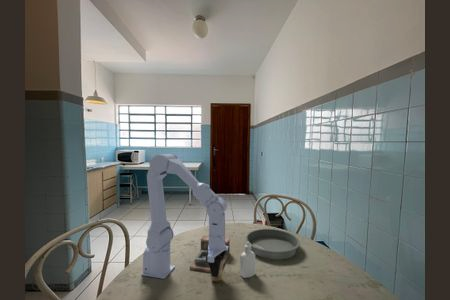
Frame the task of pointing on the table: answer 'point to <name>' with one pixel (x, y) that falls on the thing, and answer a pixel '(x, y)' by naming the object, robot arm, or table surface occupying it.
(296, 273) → the table surface
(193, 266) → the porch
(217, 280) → the peg
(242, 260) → the eye dropper bottle
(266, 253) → the cake pan
